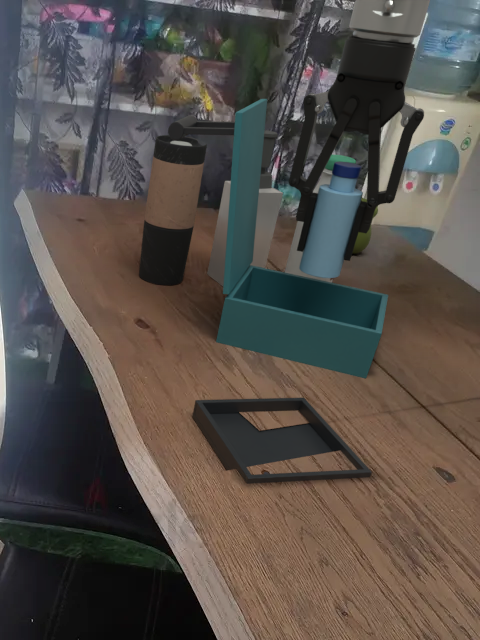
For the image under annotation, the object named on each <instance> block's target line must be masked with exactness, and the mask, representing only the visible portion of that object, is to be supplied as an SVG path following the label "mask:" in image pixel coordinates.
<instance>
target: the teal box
mask: <svg viewBox="0 0 480 640" xmlns="http://www.w3.org/2000/svg"><path fill="white" fill-rule="evenodd" d="M388 300H389V294H386V293H382V292H378V291H373V290H367V289H363V288H359V287H354V286H351V285H345V284H340V283H335V282H332V283H331V282H327V281H322V280H317V279H313V278H308V277H303V276H299V275H294V274H289V273H285V271H280V270H275V269H270V268H267V267H265V268H262V267H257V266H252V265H250V266H249V267H248V269H247V270H246V271H245V273H244V274H243V275H242V277H241V278H240V280H239V281H238V282H237V284H236V285H235V287H234V288H233V289H232V291H231V292H230V293H229V294H226V296H225V297H224V303H223V306H222V311H221V316H220V319H219V326H218V329H217V334H216V340H215V343H216V344H217V343H218V344H222V345H226V346H229V347H234V348H237V349H242V350H246V351H250V352H254V353H258V354H262V355H267V356H270V357H275V358H279V359H282V360H287V361H290V362H295V363H299V364H304V365H309V366H311V367H317V368H320V369H324V370H329V371H332V372H336V373H341V374H344V375H349V376H353V377H357V378H361V379H367V377H368V375H369V373H370V369H371V366H372V364H373V360H374V358H375V354H376V351H377V349H378V345H379V343H380V340H381V338H382V335H383V330H384V329H383V328H384V322H385V317H386V310H387V305H388Z"/></svg>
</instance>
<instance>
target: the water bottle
mask: <svg viewBox="0 0 480 640" xmlns="http://www.w3.org/2000/svg"><path fill="white" fill-rule="evenodd" d="M361 171H362V165H360V164H358V163H356V164H354V163H349V162H335V163H334V166H333V170H332V177H331V181H330V184H324V185H321V186H320V187H319V191H318V195H317V199H316V203H315V207H314V211H313V215H312V219H311V223H310V227H309V231H308V235H307V239H306V243H305V247H304V251H303V255H302V259H301V263H300V267H299V269H300V270H301V271H302V272H304V273H306V274H308V275H311V276H315V277H321V278H333V279H334V278H335V279H336V278H338V277H340V275H341V272H342V268H343V265H344V262H345V260H344V257H345V254H346V250H347V247H348V243H349V240H350V236H351V233H352V229H353V226H354V222H355V219H356V215H357V212H358V208H359V205H360V202H361V199H362V198H363V195H364V192H363V191H362V190H360V189H358V188H356V186H357V182H358V179H359V178H360V175H361Z"/></svg>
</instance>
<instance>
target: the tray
mask: <svg viewBox="0 0 480 640" xmlns="http://www.w3.org/2000/svg"><path fill="white" fill-rule="evenodd" d="M295 411H297V412H299V413H300V414H301V415H302V416H303V417H304V419H305V420H306V421H307V422H306V423H299V424H294V425H287V426H281V427H273V428H269V429H262V430H259V429H258V428H257V427H256V426H255V425H254V424H253V423H252V422H250V421H249V420H248V419H247V418H246V417H245V416H244V415H243V414H242V413H258V412H259V413H260V412H264V413H265V412H295ZM192 419H193V420H194V422H195V423H196V425H197V426H198V428H199V429H200V432H201V433H202V434H203V436H204V437H205V439H206V440H207V442H208V444H209V445H210V446H211V448H212V450H213V451H214V453H215V455H216V456H217V457H218V459H219V461H220V462H221V464H222V465H223V467H224V469H225V470H226V471H232V470H237V472H238V473H239V475H240V476H241V477H242V479H243V480H244V482H245V483H246V484H247V485H250V484H253V485H254V484H271V483H289V482H291V483H292V482H306V481H328V480H345V479H346V480H347V479H349V480H350V479H365V478H366V479H367V478H371V476H372V473H373V472H372V470H371V469H370V468H369V467H368V466H367V465H366V464H365V463H364V462H363V460H362V459H361V458H360V457H359V456H358V455H357V454H356V453H355V451H353V449H352V448H351V447H350V446H349V445H348V443H346V442H345V441H344V440H343V438H341V437H340V436H339V434H338V433H337V432H336V431H335V430H334V429H333V427H331V425H329V423H328V422H327V421H326V420H325V419H324V418H323V417H322V416H321V415H320V414H319V412H317V410H316V409H315V407H313V406H312V405H311V403H309V401H308V400H307V399H306V398H305V397H275V398H274V397H273V398H272V397H271V398H270V397H269V398H268V397H267V398H230V399H229V398H228V399H227V398H225V399H223V398H222V399H196V400H195V401H194V406H193V411H192ZM334 452H342V454H343V455H344V456H345V457H346V459H348V461H349V462H350V463H351V464H352V465H353V466H354V467H355V468H356V469H344V470H343V469H338V470H322V471H321V470H319V471H303V472H302V471H301V472H280V473H260V474H252V473H251V472H250V470H249V468H250V467H254V466H261V465H266V464H272V463H277V462H282V461H289V460H294V459H300V458H306V457H310V456H311V457H312V456H317V455H322V454H328V453H334Z"/></svg>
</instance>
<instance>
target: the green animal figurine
mask: <svg viewBox="0 0 480 640" xmlns="http://www.w3.org/2000/svg"><path fill="white" fill-rule="evenodd" d="M361 201H364V202H367V198H365V197H362V199H361ZM378 214H379V205H378V206H377V207H376V209H375V212H374V215H373V218H372V222H371V225H370V228H369V230H368V232H367V233H361V232H358V236H357V239H356V242H355V246H354V249H353V253H352V255H355V254H359V253H362V252H363V251H364V250H366V248H367V247H368V246H369V243H370V241H371V238H372V225H373V220H374V219H375V217H376V216H377V215H378Z"/></svg>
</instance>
